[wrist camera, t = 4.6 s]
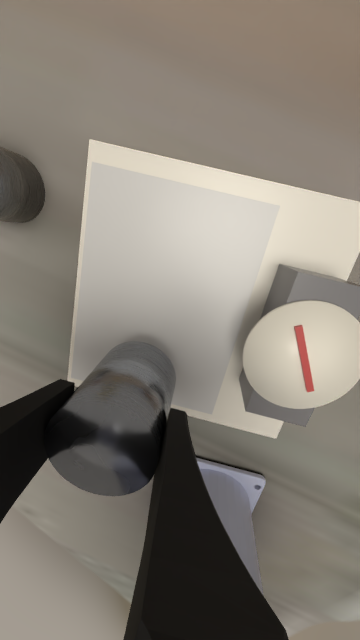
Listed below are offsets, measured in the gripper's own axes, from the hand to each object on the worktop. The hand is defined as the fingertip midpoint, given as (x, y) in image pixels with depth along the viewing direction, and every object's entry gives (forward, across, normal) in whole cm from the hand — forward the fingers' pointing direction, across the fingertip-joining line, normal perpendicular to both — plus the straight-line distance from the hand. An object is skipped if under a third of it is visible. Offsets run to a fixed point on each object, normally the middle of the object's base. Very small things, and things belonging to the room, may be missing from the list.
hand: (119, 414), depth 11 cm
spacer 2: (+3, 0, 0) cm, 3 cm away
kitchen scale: (+8, -2, -4) cm, 9 cm away
